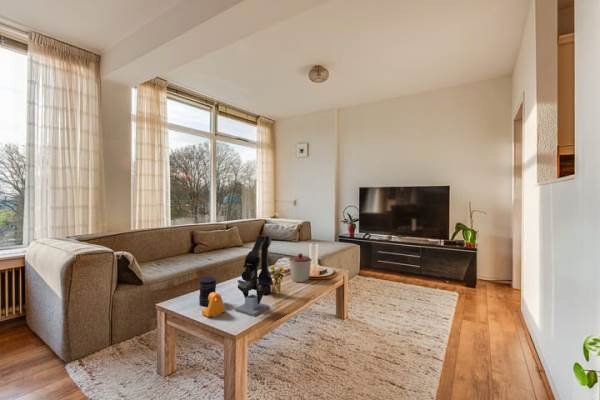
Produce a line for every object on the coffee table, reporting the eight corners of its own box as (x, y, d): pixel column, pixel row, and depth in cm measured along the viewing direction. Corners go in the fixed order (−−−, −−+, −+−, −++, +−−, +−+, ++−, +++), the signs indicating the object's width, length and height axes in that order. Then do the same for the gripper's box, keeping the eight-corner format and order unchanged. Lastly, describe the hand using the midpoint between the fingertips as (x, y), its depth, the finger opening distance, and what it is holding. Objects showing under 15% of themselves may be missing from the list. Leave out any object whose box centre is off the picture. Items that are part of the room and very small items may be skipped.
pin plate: (235, 310, 163) (235, 301, 163) (251, 302, 175) (251, 294, 175) (253, 316, 156) (253, 306, 156) (269, 308, 168) (269, 298, 168)
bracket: (218, 308, 166) (218, 288, 166) (225, 312, 162) (225, 291, 161) (201, 314, 158) (201, 293, 158) (208, 318, 154) (208, 296, 153)
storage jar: (198, 307, 168) (198, 282, 168) (199, 301, 177) (199, 277, 177) (215, 305, 171) (216, 281, 170) (216, 299, 180) (216, 276, 180)
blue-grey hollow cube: (245, 307, 165) (245, 297, 165) (251, 304, 170) (251, 294, 170) (252, 309, 162) (253, 299, 162) (259, 306, 167) (259, 296, 167)
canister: (302, 275, 234) (303, 250, 233) (316, 281, 219) (316, 254, 218) (284, 279, 224) (284, 252, 223) (296, 285, 209) (297, 257, 208)
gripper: (230, 276, 163) (230, 303, 164) (255, 282, 154) (255, 310, 154) (244, 272, 173) (244, 297, 173) (268, 277, 163) (268, 303, 164)
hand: (252, 302), depth 166 cm, fingers open, 9 cm apart
